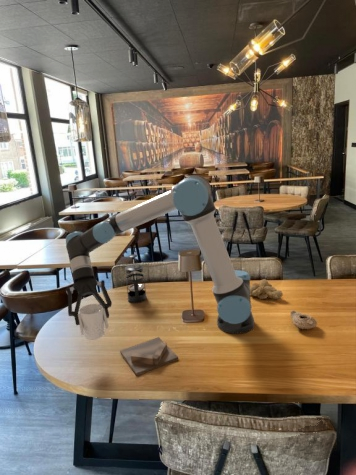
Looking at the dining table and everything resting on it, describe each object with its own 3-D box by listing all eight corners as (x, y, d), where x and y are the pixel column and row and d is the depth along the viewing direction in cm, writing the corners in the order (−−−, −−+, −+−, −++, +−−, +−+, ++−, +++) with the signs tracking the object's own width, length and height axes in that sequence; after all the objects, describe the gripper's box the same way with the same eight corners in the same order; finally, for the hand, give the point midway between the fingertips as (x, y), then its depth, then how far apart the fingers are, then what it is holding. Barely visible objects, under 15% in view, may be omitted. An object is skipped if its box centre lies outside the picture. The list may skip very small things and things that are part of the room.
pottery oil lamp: (299, 315, 145) (308, 303, 142) (312, 338, 135) (322, 326, 132) (282, 312, 142) (291, 300, 139) (294, 335, 133) (304, 323, 129)
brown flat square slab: (120, 352, 127) (119, 344, 126) (158, 339, 134) (158, 331, 133) (136, 375, 114) (135, 367, 113) (178, 359, 121) (177, 351, 120)
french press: (147, 302, 166) (143, 257, 160) (128, 304, 164) (123, 259, 158) (145, 292, 177) (141, 250, 171) (127, 294, 176) (122, 252, 170)
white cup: (100, 341, 115) (96, 315, 112) (79, 340, 117) (75, 314, 114) (109, 329, 123) (106, 304, 120) (89, 328, 124) (85, 303, 122)
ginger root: (242, 287, 174) (246, 272, 171) (272, 292, 174) (277, 278, 172) (246, 302, 159) (251, 286, 156) (280, 308, 159) (285, 293, 157)
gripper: (109, 270, 132) (123, 326, 122) (53, 280, 125) (64, 341, 115) (110, 261, 126) (125, 319, 116) (52, 271, 119) (63, 335, 109)
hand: (95, 330), depth 116 cm, fingers closed on white cup, 8 cm apart
